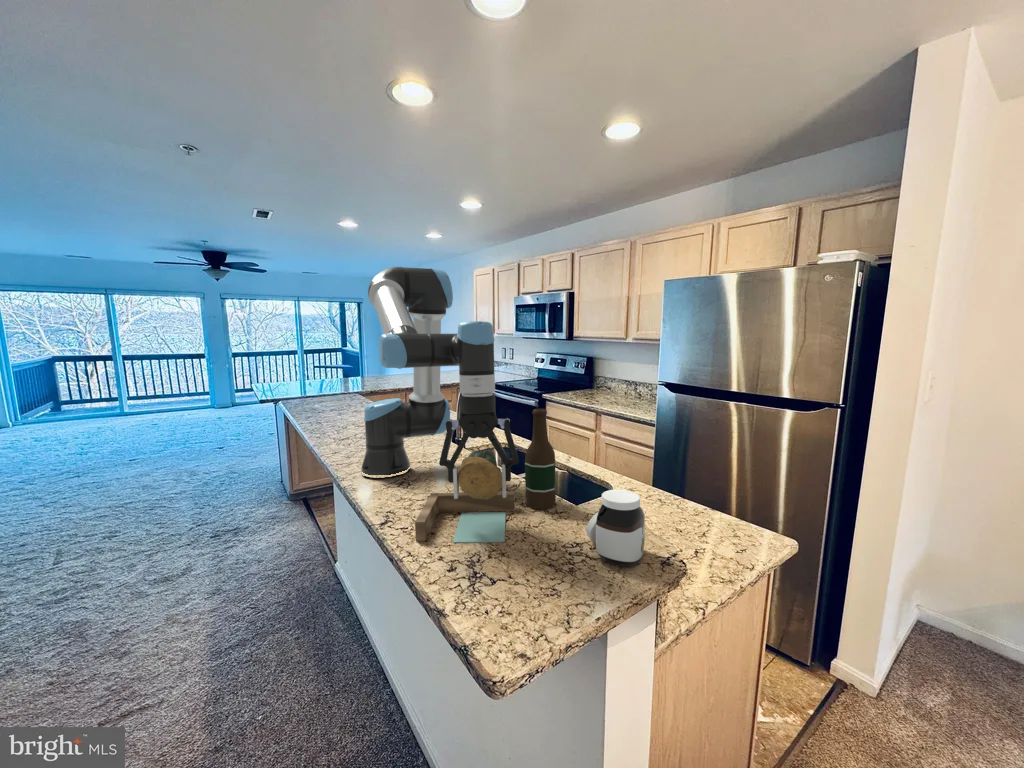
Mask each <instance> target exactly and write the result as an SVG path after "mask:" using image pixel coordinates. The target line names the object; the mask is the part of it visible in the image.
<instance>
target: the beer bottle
mask: <svg viewBox="0 0 1024 768" xmlns="http://www.w3.org/2000/svg"><path fill="white" fill-rule="evenodd" d="M531 414H532V415H533V417H532V419H533V420H532V437H531V442H530V444H529V446H527V449H526V452H525V458H524V478H525V479H524V480H525V481H524V485H525V486H524V487H525V488H524V489H525V504H526V507H529V508H530V509H532V510H539V511H546V510H549V509H553V508H555V504H556V498H557V497H556V495H557V494H556V488H557V487H556V486H557V485H556V453H555V450H554V448H553V445H552V444H551V443H550V441H549V437H548V436H549V435H548V428H547V427H548V426H547V425H548V424H547V415H548V411H547V409H545V408H534V409H533V410H532V413H531Z"/></svg>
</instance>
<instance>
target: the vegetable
mask: <svg viewBox="0 0 1024 768" xmlns="http://www.w3.org/2000/svg"><path fill="white" fill-rule="evenodd" d="M469 457H481V458H484V459H486V460H487V461H489V462H490V463H492V464H494V465H495V466H496V467H497V468H498V469H499V470H500V473H501V476H502V468H501V467H498V463H497V461H496V456H494V455H493V453H492V452H490V451H489V450H487V449H486V450H485V449H484V450H483V451H479V450H478V451H477V450H474V451H471V452H470V453H469V454H468V455H467V456H466V457H465V458H463V459H462V460H461V464H462V463H463V462H464V461H465V460H466V459H467V458H469ZM459 470H460V467H458V475H459Z"/></svg>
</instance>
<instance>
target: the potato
mask: <svg viewBox="0 0 1024 768" xmlns="http://www.w3.org/2000/svg"><path fill="white" fill-rule="evenodd" d="M497 467H498V466H497ZM497 467H496V466H495V465H494V464H492V463H490V462H489V461H487V460H486V459H484V458H481V457H469V458H467V459H466V460H465V461H464V462H463V463H462V462H461V464H460V466H459V468H460V470H459V469H458V470H459V474H458V475H459V478H458V483H459V488H460V490H461V493H466V494H467V495H469V496H470V497H472V498H479V499H486V500H488V499H490V498H492V497H493V496H496V495H497V494H498V492H500V490H501V489H502V476H501V473H500V470H499V469H498V468H499V467H498V468H497Z"/></svg>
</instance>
